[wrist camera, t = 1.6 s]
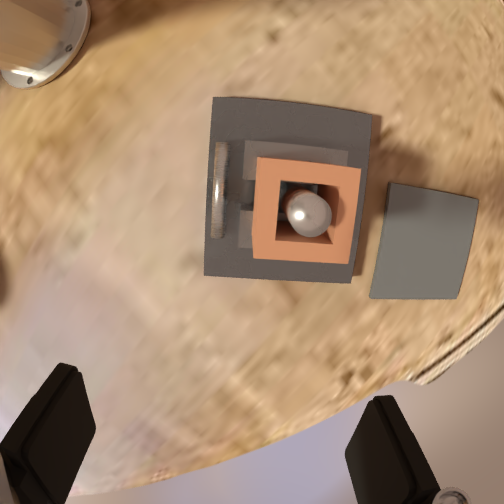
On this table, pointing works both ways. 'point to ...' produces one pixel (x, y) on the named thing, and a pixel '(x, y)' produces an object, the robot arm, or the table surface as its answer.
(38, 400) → the robot arm
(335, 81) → the table surface
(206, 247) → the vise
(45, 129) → the table surface
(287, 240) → the collar
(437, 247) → the mat
